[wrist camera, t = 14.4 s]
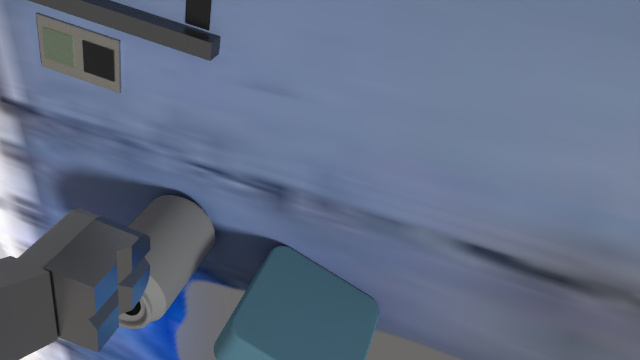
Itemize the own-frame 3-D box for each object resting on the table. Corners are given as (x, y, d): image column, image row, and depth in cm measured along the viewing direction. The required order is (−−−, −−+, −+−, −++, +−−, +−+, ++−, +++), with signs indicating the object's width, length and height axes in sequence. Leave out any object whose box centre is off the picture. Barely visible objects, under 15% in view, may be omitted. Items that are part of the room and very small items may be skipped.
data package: (260, 265, 60) (206, 357, 50) (278, 238, 57) (223, 330, 47) (362, 327, 60) (326, 430, 50) (384, 303, 57) (351, 407, 48)
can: (204, 262, 62) (141, 349, 52) (143, 223, 61) (69, 303, 52) (230, 218, 57) (166, 305, 48) (164, 176, 57) (87, 255, 47)
